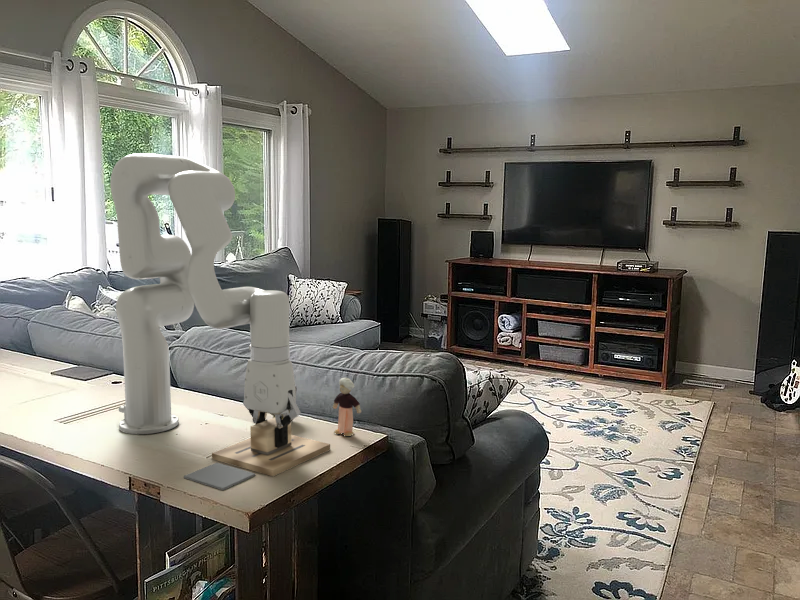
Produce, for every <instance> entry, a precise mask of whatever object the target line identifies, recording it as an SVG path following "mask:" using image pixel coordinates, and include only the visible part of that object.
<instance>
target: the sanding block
mask: <svg viewBox="0 0 800 600" xmlns="http://www.w3.org/2000/svg"><path fill="white" fill-rule="evenodd" d="M265 420H266V421H264V422H261V423H258V424H256V425H255V424H252V425H250V438H251V451H253V452H257V453H261V454H265V455H269V454H272V453H274V452H276V451H279V450H281V449H283V448H286V447H288V446H290V445H291V435H292V423H291V424H290V425H288V443H287V444H286V445H284V446H281V447H279V448H277V447H275V428H276V427H277V424H276V419H275V418H273V417H272V418H269V419H265Z"/></svg>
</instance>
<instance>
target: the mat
mask: <svg viewBox="0 0 800 600" xmlns="http://www.w3.org/2000/svg"><path fill="white" fill-rule="evenodd" d="M255 476H256V472H255V473H254V472H250V471H247V470H244V469H241V468H239V467H238V468H237V467H235V466H230V465H228V464H225V463H224V464H223V463H220V462H215V463H211V464H210V465H208V466H205V467H203V468H201V469H200V468H199V469H197V470H195V471H192V472H190V473H187V474H185V475H183V478H184V479H186V480H190V481H192V482H195V483H199V484H202V485H205V486H208V487H211V488H215V489H218V490H221V491H224V490H227V489H229V488H231V487H233V485H234V486H236V485H238V484H241V483H242V482H245V481H247V480H248V479H251V478H253V477H255Z"/></svg>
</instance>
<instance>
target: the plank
mask: <svg viewBox="0 0 800 600" xmlns="http://www.w3.org/2000/svg"><path fill="white" fill-rule="evenodd" d="M330 450H331V444H330V443H327V442H323V441H318V440H314V439H311V438H307V437H302V436H297V435H294V434H291V445H290V446H288V447H286V448H283V449H281V450H279V451H276V452H274V453H272V454H269V455H265V454H261V453H257V452H253V451H251V437H250V438H246V439H245V440H242V441H239V442H237V443H234V444H232V445H229V446H226V447H224V448H221V449H219V450H216V451H214V452H211V460H214V461H218V462H222V463H224V464H227V465H232V466H234V467H238V468H239V467H240V468H243V469H246V470H250V471H253V472H255V473H256V472H257V473H260V474H263V475H267V476H270V477H275V476H277V475H280V474H282V473H284V472H285V471H288V470H290V469H292V468H295V467H296V466H299V465H301V464H302V463H305V462H307V461H309V460H311V459H314V458H316V457H318V456H320V455H322V454H324V453H327V452H329V451H330Z"/></svg>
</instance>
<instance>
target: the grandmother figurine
mask: <svg viewBox="0 0 800 600" xmlns="http://www.w3.org/2000/svg"><path fill="white" fill-rule="evenodd" d="M338 381H339V382H338V385H339V393H338V394H337V395H336V397H335V398H334V400H333V404H332V409H334V410H335V409H337V408H338V419H337V420H338V421H337V422H338V423H337V429H335V430H334V431H333V434H334V433H336V434H340V435H342V436H343V435H345V436H351V435H352V434H354V435H355V432H354V431H353V426H354V425H353V424H354V414H353V407H354V408H355V410H356V413H357V414H361V413H362V409H361V405H360V404H361V403H360V402H359V401H358V399H357V398H356V397H355V396H353V395H352V394H351V391H352V390H353V389H354V388H355V384H354V383H353V381H352V380H351V379H350V378H349V377H342V378H340V379H339V380H338ZM341 433H344V434H341ZM336 434H335V435H336ZM345 436H344V437H345ZM352 436H353V435H352ZM352 436H351V437H352Z"/></svg>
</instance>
